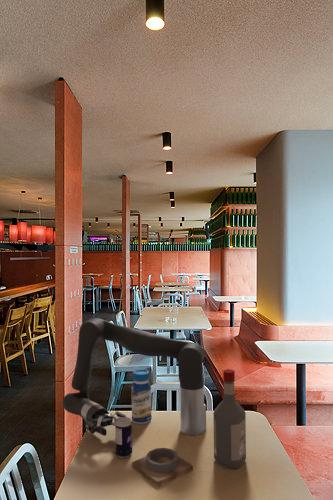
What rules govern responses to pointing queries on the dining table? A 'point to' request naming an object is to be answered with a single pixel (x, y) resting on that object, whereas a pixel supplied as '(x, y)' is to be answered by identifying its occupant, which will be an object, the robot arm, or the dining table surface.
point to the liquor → (229, 427)
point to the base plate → (165, 477)
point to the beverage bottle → (141, 397)
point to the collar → (162, 466)
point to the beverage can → (123, 437)
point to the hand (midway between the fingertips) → (116, 429)
